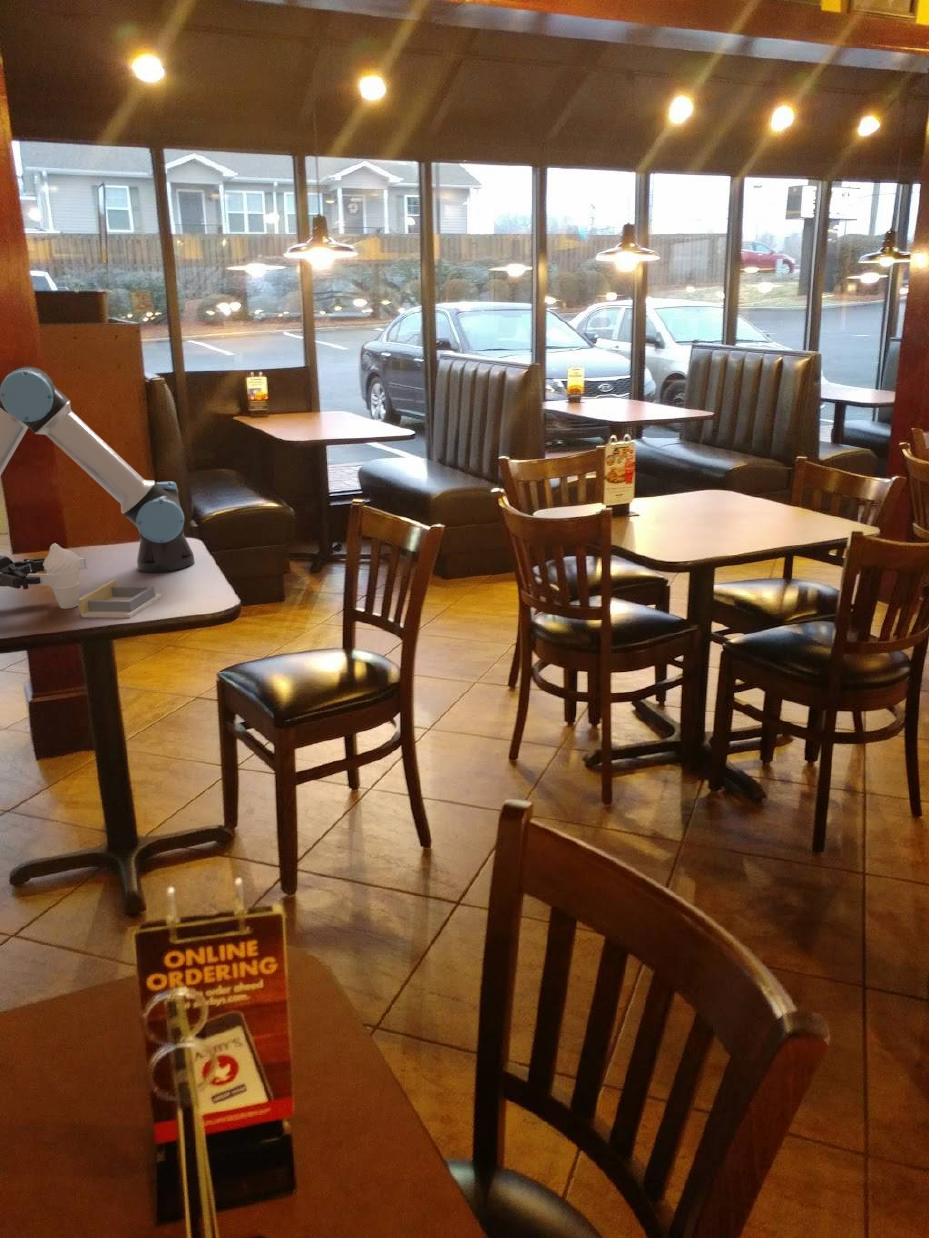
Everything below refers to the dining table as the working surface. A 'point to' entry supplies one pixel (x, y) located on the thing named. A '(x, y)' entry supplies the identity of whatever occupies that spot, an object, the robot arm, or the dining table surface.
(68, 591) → the soft serve ice cream cone
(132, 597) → the grey shallow tray
